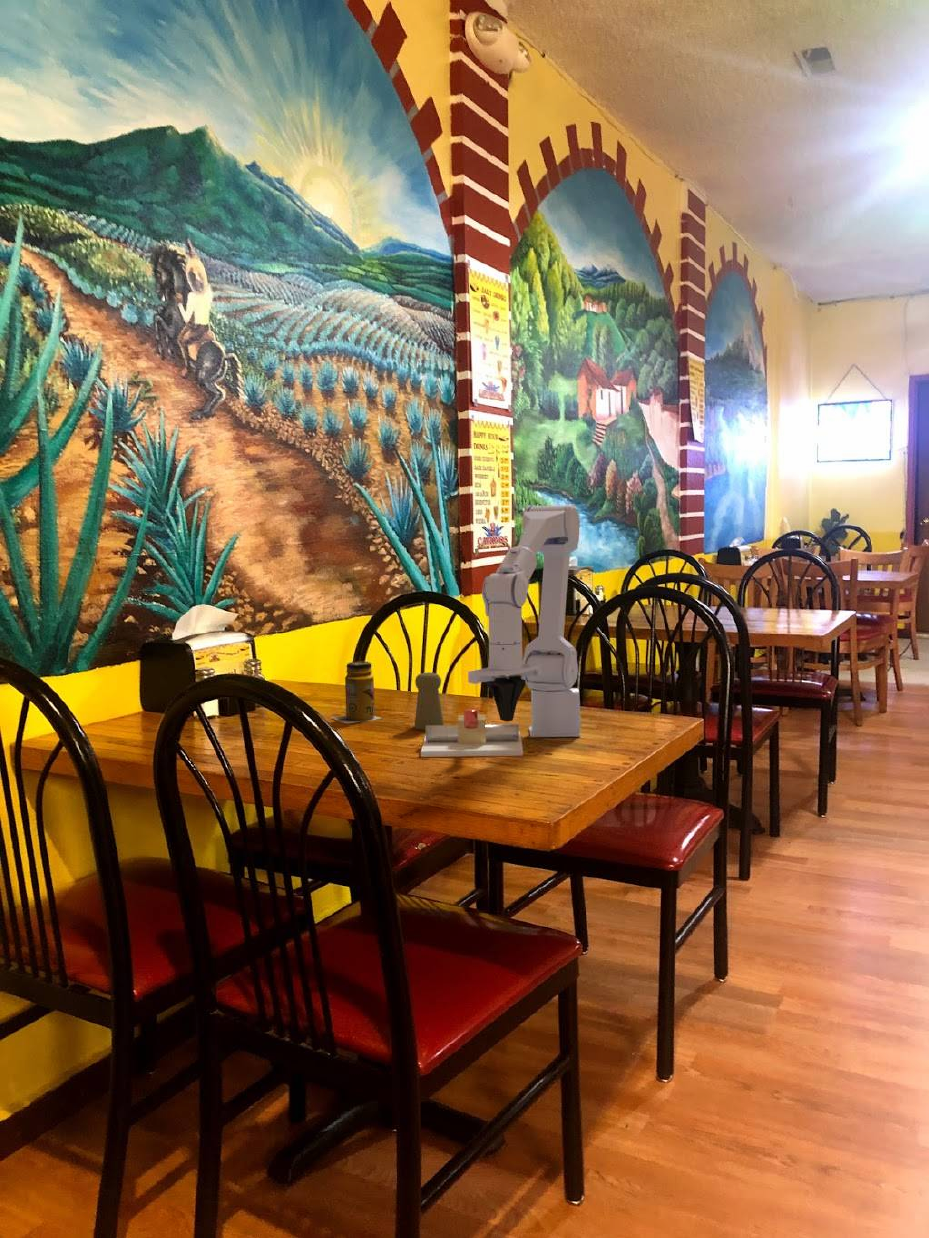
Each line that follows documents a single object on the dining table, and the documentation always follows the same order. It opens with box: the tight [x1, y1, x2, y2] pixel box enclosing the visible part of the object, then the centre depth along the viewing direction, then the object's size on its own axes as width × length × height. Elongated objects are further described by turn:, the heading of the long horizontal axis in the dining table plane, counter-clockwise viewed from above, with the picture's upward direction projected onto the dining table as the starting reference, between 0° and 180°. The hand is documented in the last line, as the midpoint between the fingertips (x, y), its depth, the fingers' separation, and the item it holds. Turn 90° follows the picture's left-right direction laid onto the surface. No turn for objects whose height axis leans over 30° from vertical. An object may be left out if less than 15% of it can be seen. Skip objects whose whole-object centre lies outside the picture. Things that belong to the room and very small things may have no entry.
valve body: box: [425, 714, 520, 744], centre depth 178 cm, size 17×5×4 cm, turn 89°
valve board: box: [420, 731, 524, 758], centre depth 178 cm, size 18×15×1 cm
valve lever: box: [463, 708, 479, 729], centre depth 173 cm, size 11×2×3 cm, turn 179°
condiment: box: [330, 661, 382, 725], centre depth 205 cm, size 7×8×12 cm
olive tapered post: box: [413, 672, 445, 731], centre depth 196 cm, size 6×6×11 cm
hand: (506, 720), depth 168 cm, fingers closed
